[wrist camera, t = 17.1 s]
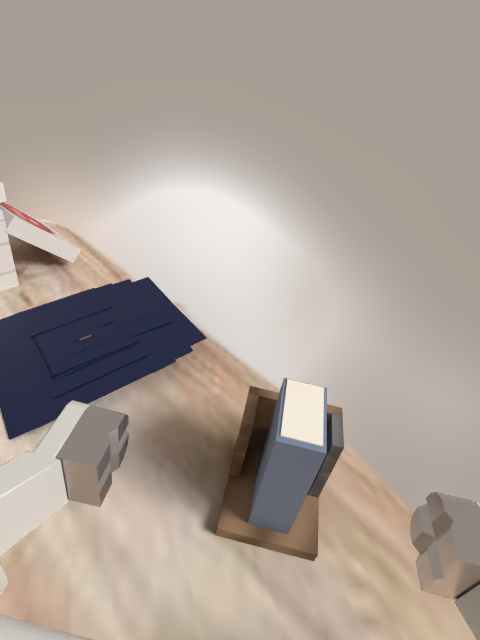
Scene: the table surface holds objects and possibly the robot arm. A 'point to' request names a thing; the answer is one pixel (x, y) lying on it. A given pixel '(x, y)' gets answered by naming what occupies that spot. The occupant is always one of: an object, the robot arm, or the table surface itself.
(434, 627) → the table surface
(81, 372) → the navy flat slab
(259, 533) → the shelf
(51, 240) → the pizza boxes
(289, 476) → the tall blue pillar
